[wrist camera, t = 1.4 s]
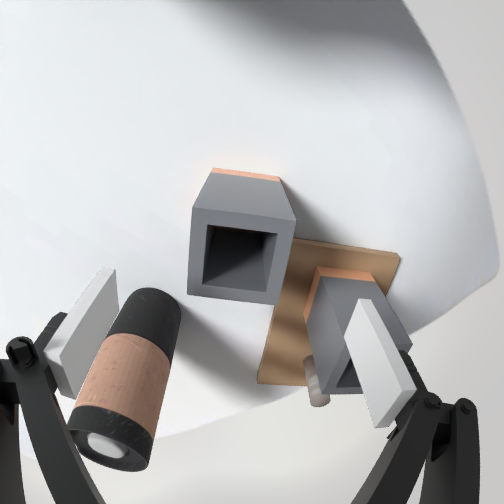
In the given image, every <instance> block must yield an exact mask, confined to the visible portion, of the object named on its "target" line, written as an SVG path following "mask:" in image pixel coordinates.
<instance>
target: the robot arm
mask: <svg viewBox="0 0 504 504" xmlns="http://www.w3.org/2000/svg"><path fill="white" fill-rule="evenodd" d="M118 312H119V304H118V295H117V284H116V272H115V269H112V268H106V267H102V268H101V270H100V271H99V272H98V273H97V275H96V276H95V277H94V279H93V280H92V281H91V283H90V284H89V285H88V287H87V288H86V289H85V291H84V292H83V294H82V295H81V296H80V298H79V299H78V300H77V302H76V303H75V305H74V306H73V307H72V309H71V310H70V312H69V313H68V314H67V313H63V312H60V313H58V314H57V315H55V316H54V317H52V319H51V320H50V321H49V323H48V324H47V326H46V327H45V328H44V330H43V332H42V333H41V334H40V336H39V337H38V338H37V340H36V341H35V343H34V344H33V342H32V340H31V339H29V338H28V337H24V336H22V337H16V338H14V339H12V340H11V341H10V342H9V343H8V345H7V346H6V353H7V355H8V357H9V359H10V360H9V359H0V504H26V502H25V496H24V490H23V482H22V473H21V462H20V448H19V404H21V408H22V412H23V416H24V419H25V423H26V426H27V430H28V433H29V436H30V439H31V442H32V446H33V448H34V451H35V454H36V457H37V460H38V463H39V465H40V468H41V470H42V473H43V475H44V478H45V480H46V483H47V485H48V488H49V490H50V492H51V494H52V497H53V499H54V501H55V503H56V504H106V503H105V502H104V500H103V498H102V496H101V494H100V493H99V491H98V489H97V487H96V486H95V484H94V482H93V480H92V478H91V477H90V474H89V473H88V471H87V469H86V467H85V465H84V463H83V461H82V458H81V457H80V454H79V452H78V450H77V448H76V446H75V443H74V441H73V439H72V437H71V434H70V432H69V430H68V427H67V425H66V422H65V420H64V417H63V415H62V412H61V409H60V407H59V404H58V401H57V399H56V396H55V394H54V393H55V391H56V389H57V387H58V389H59V391H60V394H61V395H63V396H66V397H69V398H72V399H75V400H76V398H77V396H78V394H79V391H80V389H81V387H82V385H83V383H84V380H85V378H86V376H87V374H88V372H89V370H90V368H91V365H92V363H93V361H94V359H95V357H96V355H97V353H98V351H99V349H100V347H101V345H102V343H103V341H104V339H105V337H106V335H107V333H108V331H109V329H110V327H111V325H112V323H113V321H114V320H115V318H116V316H117V314H118ZM344 339H345V341H346V344H347V347H348V350H349V353H350V355H351V358H352V361H353V364H354V367H355V370H356V373H357V376H358V379H359V381H360V384H361V387H362V390H363V393H364V396H365V399H366V402H367V406H368V409H369V412H370V415H371V418H372V421H373V424H374V427H375V428H382V427H389V426H390V424H391V423H392V422H393V421H394V419H395V421H396V424H397V426H396V427H395V429H394V430H393V431H392V432H391V433H390V434H389V436H388V437H387V439H389V440H388V442H387V444H386V446H385V447H384V449H383V451H382V453H381V455H380V457H379V459H378V460H377V462H376V464H375V466H374V467H373V469H372V471H371V472H370V474H369V476H368V478H367V479H366V481H365V483H364V484H363V486H362V487H361V489H360V490H359V492H358V493H357V495H356V497H355V498H354V500H353V501H352V503H351V504H406V503H407V501H408V499H409V497H410V495H411V492H412V490H413V488H414V485H415V483H416V481H417V479H418V477H419V474H420V472H421V469H422V467H423V464H424V462H425V459H426V463H425V470H424V478H423V485H422V491H421V498H420V502H419V504H479V490H480V447H479V430H478V417H477V409H476V406H475V405H474V403H473V402H471V401H470V400H468V399H466V398H461V399H459V400H458V401H457V402H456V403H455V404H454V405H453V404H447V403H442V401H441V399H440V398H439V397H438V396H437V395H435V394H434V393H431V392H428V391H427V389H426V387H425V385H424V383H423V381H422V379H421V377H420V375H419V373H418V372H417V369H416V367H415V366H414V363H413V361H412V359H411V357H410V356H409V355H408V354H407V353H406V352H405V351H404V350H397V348H396V346H395V344H394V342H393V340H392V338H391V336H390V334H389V332H388V331H387V329H386V327H385V325H384V323H383V321H382V319H381V317H380V316H379V314H378V312H377V310H376V308H375V306H374V305H373V303H372V301H371V299H358V301H357V304H356V307H355V309H354V312H353V314H352V317H351V320H350V322H349V325H348V327H347V330H346V332H345V334H344Z"/></svg>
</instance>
